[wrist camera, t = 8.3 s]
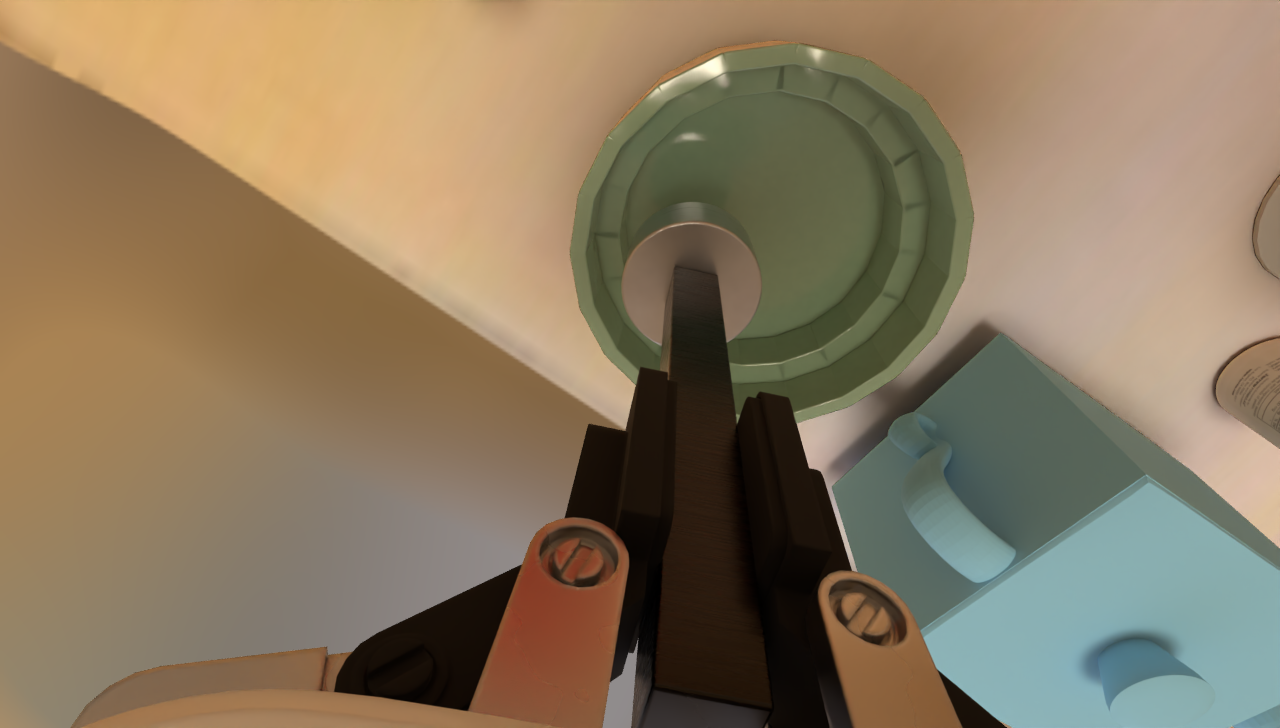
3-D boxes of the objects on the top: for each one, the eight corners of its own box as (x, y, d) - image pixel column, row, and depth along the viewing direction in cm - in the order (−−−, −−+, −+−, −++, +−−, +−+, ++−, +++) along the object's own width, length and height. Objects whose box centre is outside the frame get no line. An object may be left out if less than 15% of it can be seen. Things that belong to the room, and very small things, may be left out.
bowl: (975, 85, 24) (1054, 100, 19) (845, 383, 31) (877, 455, 26) (625, 5, 23) (606, -2, 18) (574, 326, 30) (549, 387, 25)
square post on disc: (771, 216, 20) (970, 650, 6) (735, 333, 22) (819, 854, 8) (640, 188, 20) (531, 566, 6) (617, 308, 22) (495, 797, 8)
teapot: (786, 442, 33) (840, 680, 21) (941, 285, 28) (1131, 478, 16) (1063, 611, 37) (1239, 885, 25) (1239, 501, 33) (1561, 778, 20)
